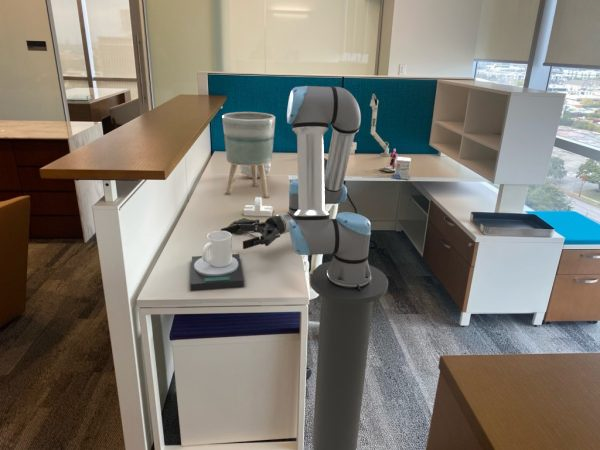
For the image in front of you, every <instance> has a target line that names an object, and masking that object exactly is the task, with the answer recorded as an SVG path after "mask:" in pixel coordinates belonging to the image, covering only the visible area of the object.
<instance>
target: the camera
mask: <svg viewBox="0 0 600 450" xmlns="http://www.w3.org/2000/svg"><path fill="white" fill-rule="evenodd" d="M271 166H272V165H271V162H270V163H268V164H264V170H265V176H266V175H268V174H270V173H271ZM239 172H240V174H242V175H245V176H247V178H251V179H252V172H251V166H243V165H239ZM256 172H257V179H258V178H260V175H259V171H258V166H256Z"/></svg>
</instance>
